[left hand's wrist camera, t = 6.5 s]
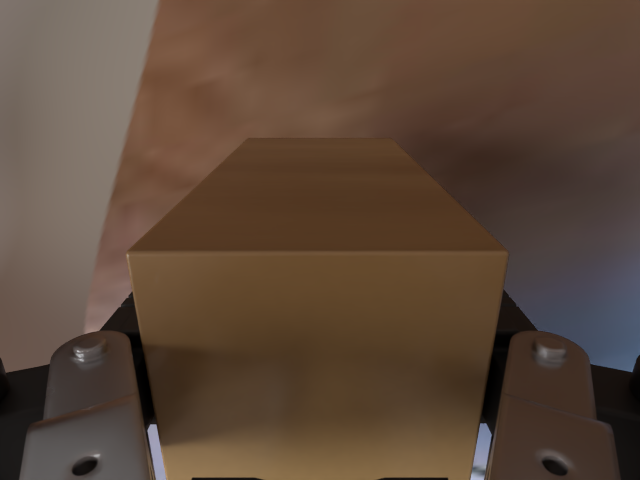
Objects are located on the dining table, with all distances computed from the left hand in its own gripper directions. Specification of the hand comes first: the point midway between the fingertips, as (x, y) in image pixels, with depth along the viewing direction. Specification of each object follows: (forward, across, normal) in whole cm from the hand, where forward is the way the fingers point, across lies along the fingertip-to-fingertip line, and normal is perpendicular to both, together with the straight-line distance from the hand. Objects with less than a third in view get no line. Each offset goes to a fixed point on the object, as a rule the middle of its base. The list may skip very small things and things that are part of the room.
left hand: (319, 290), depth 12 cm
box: (+8, 0, -7) cm, 11 cm away
